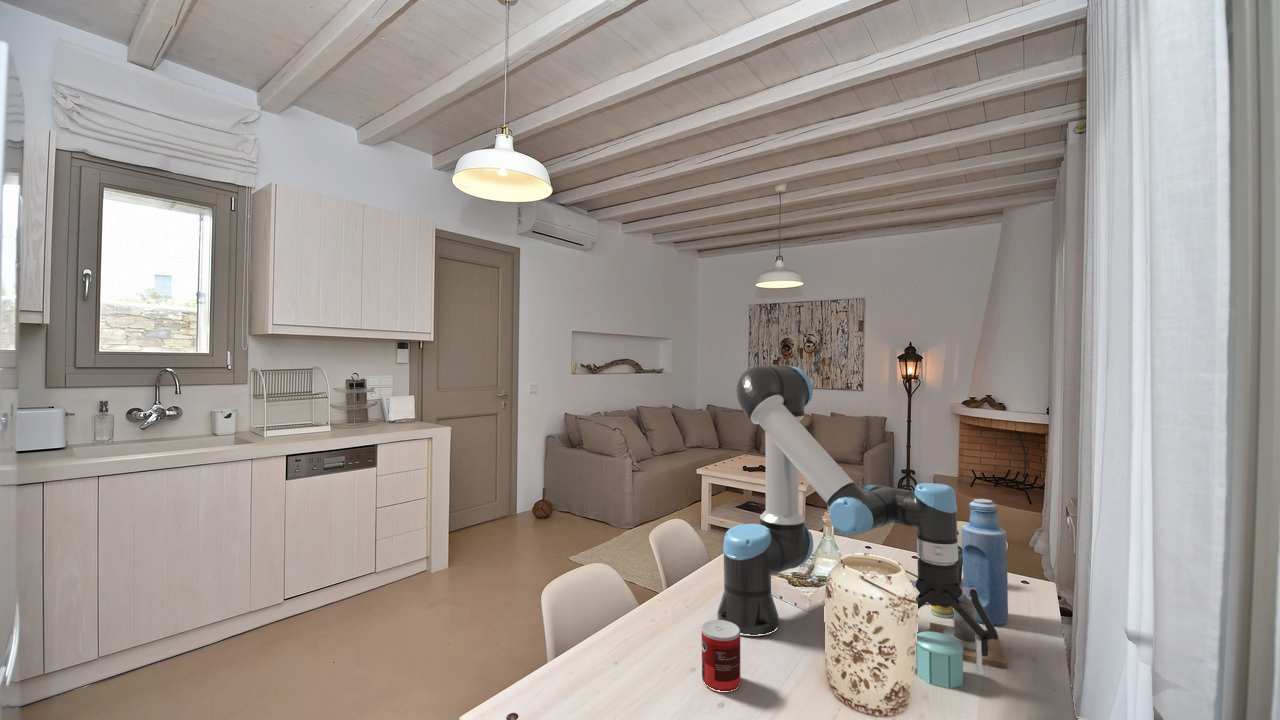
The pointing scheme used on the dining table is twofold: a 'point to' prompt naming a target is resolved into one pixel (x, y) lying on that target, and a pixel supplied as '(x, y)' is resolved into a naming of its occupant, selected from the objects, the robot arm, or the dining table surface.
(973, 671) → the dining table surface
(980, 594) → the bottle
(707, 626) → the canned food
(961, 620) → the stud post
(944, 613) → the supplement bottle
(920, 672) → the cap
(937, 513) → the robot arm
